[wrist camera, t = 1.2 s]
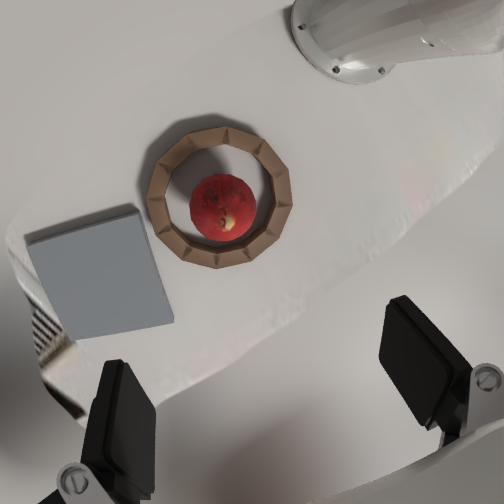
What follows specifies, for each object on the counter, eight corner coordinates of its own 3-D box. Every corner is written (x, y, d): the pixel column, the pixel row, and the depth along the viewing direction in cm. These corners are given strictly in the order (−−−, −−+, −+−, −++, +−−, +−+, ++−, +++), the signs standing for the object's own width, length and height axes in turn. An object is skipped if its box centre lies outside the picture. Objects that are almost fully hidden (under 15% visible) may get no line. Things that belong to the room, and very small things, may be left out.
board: (140, 210, 29) (137, 214, 28) (174, 316, 35) (173, 322, 33) (30, 242, 28) (25, 246, 27) (73, 334, 33) (71, 340, 32)
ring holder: (276, 117, 28) (281, 117, 26) (293, 244, 33) (297, 250, 32) (136, 146, 26) (133, 147, 25) (169, 272, 32) (169, 279, 31)
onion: (179, 183, 29) (175, 205, 21) (234, 158, 29) (248, 171, 21) (205, 234, 31) (209, 270, 24) (257, 210, 31) (277, 239, 24)
